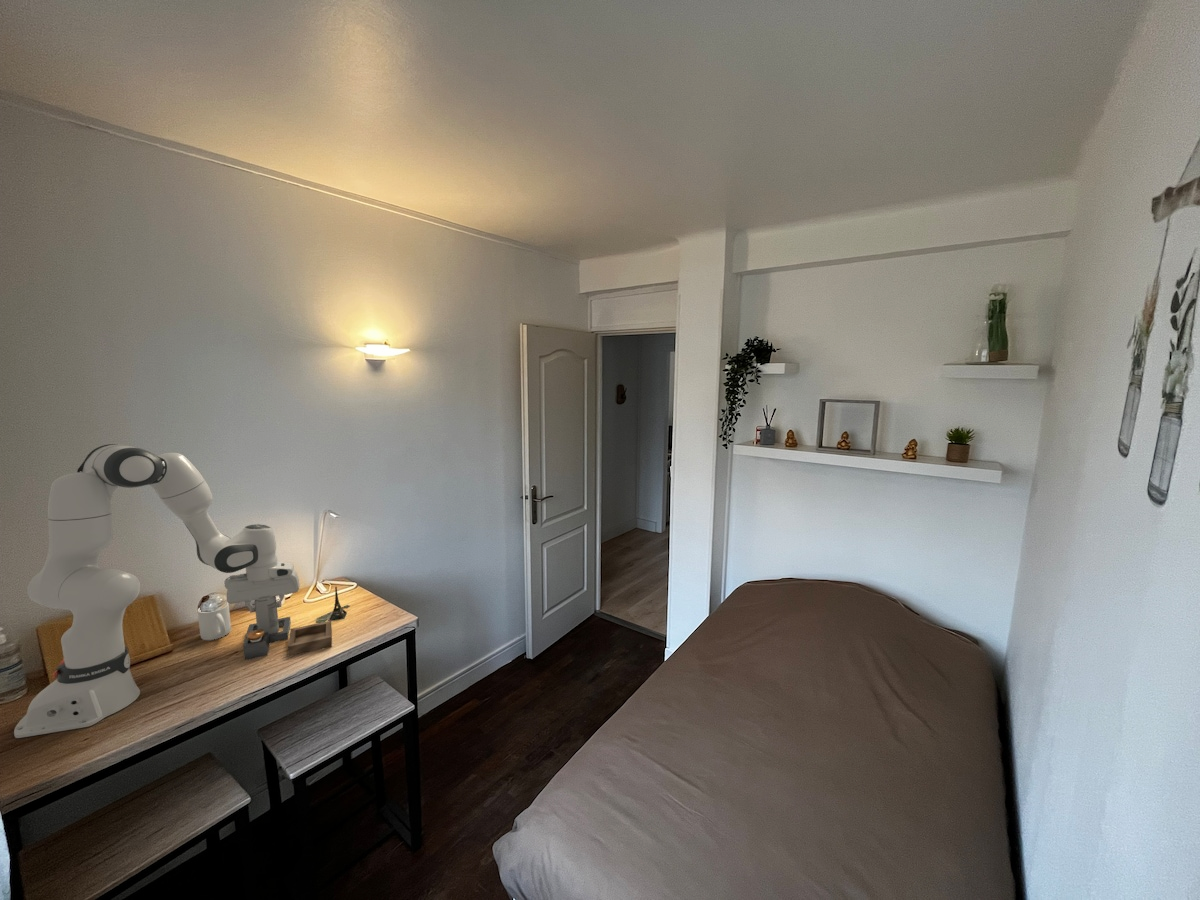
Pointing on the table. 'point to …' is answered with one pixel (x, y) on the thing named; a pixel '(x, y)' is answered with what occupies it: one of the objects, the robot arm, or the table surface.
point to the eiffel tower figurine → (334, 612)
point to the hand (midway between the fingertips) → (266, 609)
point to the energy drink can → (267, 614)
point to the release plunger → (255, 635)
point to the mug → (214, 623)
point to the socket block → (265, 640)
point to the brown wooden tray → (310, 638)
